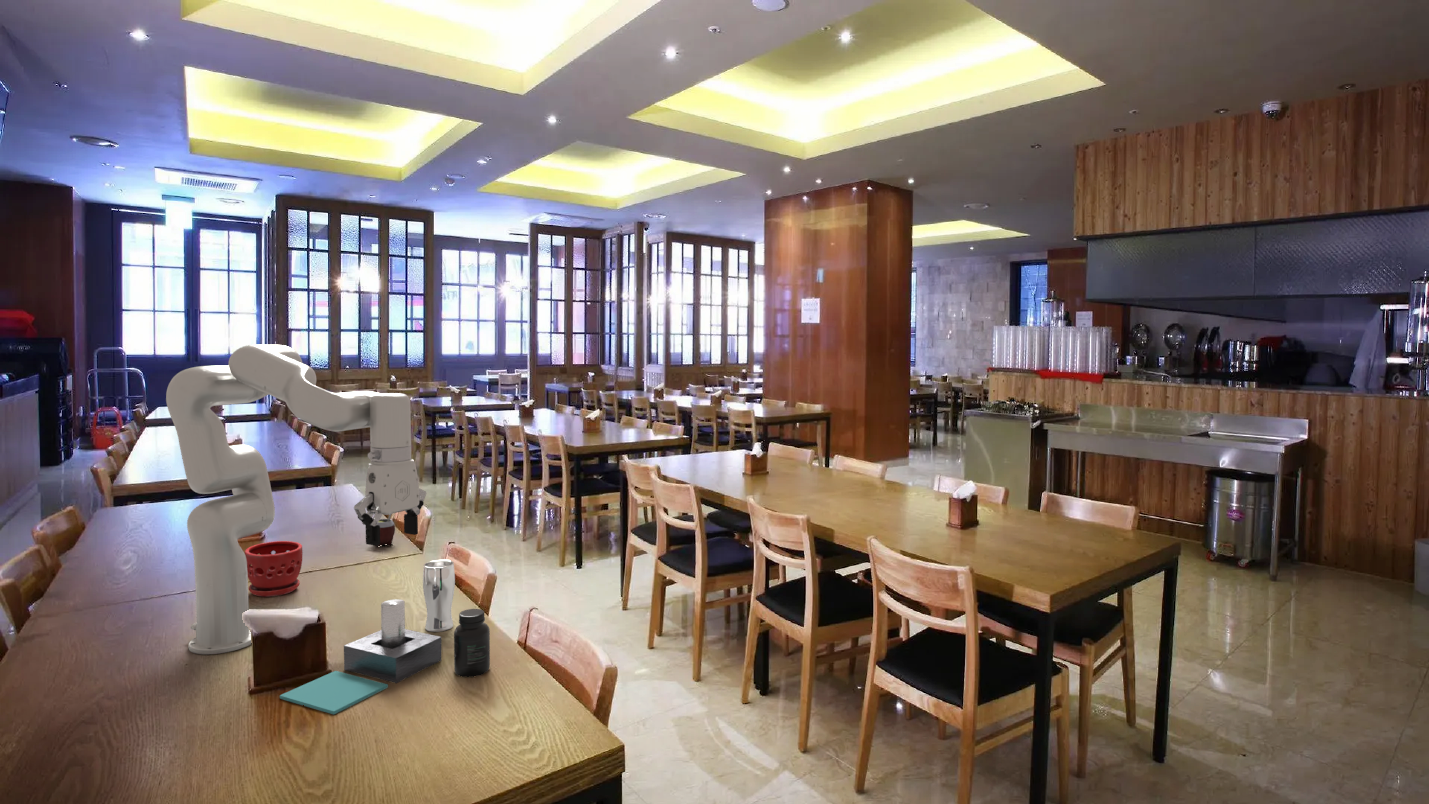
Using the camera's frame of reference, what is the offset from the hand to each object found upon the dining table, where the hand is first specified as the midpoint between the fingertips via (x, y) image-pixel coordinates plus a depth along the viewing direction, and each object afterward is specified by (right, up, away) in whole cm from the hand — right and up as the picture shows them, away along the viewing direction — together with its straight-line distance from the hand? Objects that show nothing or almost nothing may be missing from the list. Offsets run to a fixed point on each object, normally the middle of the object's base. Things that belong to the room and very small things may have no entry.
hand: (392, 539), depth 155 cm
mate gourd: (-42, -19, +93) cm, 104 cm away
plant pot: (-50, -22, +46) cm, 71 cm away
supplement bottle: (+16, -27, 0) cm, 31 cm away
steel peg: (-1, -26, +2) cm, 26 cm away
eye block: (-1, -26, +2) cm, 26 cm away
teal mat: (-6, -27, -11) cm, 30 cm away
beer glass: (+1, -25, +23) cm, 34 cm away
